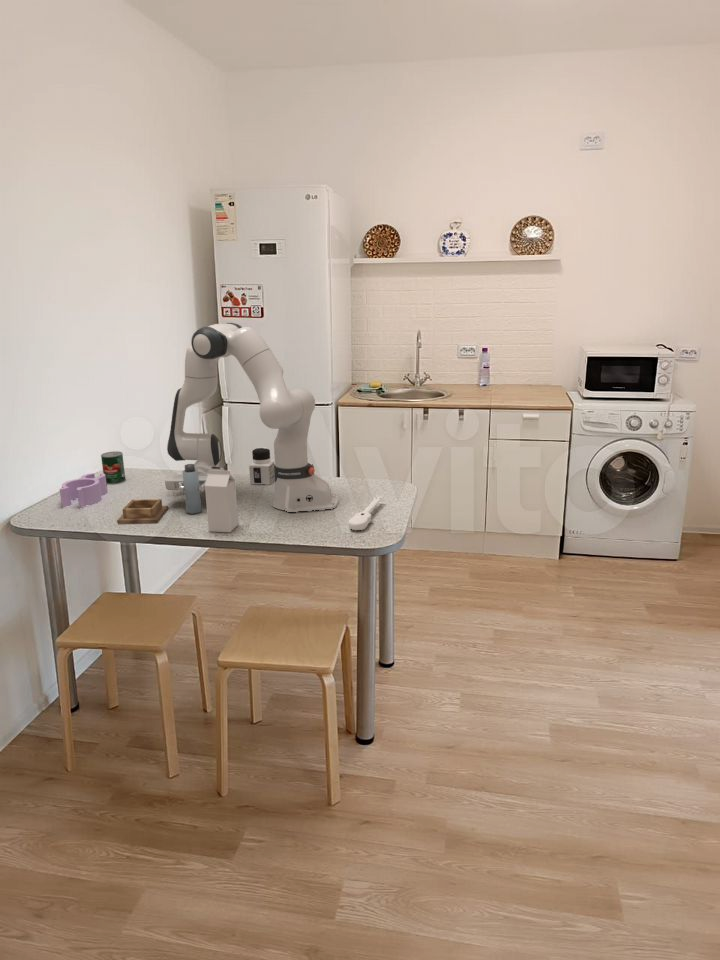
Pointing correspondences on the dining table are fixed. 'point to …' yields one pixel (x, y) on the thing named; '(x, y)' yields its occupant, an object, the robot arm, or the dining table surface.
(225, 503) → the milk carton
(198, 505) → the bottle
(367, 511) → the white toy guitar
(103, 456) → the canned tomato
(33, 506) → the dining table surface
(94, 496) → the clip
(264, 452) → the container
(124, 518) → the carton stand
